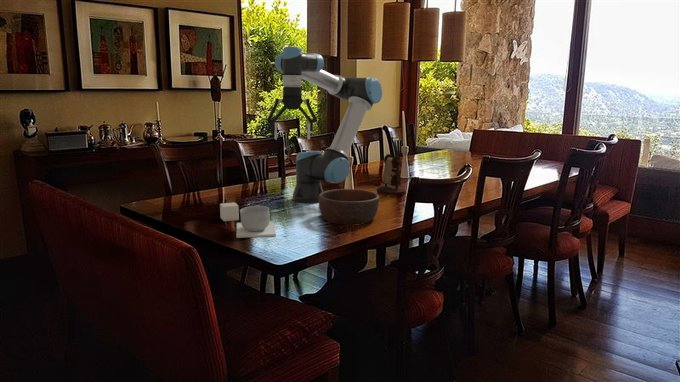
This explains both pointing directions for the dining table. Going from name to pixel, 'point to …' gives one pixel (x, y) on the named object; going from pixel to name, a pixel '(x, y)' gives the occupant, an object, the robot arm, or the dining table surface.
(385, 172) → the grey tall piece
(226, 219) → the cream block
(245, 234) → the mat
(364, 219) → the wooden bowl
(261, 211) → the teacup
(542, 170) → the dining table surface
